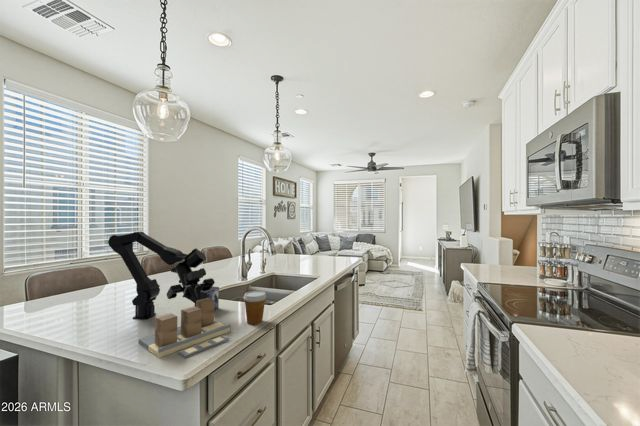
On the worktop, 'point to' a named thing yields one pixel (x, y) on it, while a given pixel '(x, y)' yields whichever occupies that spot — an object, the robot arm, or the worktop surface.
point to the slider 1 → (165, 329)
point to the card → (203, 346)
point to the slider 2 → (206, 310)
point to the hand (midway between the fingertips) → (199, 304)
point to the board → (184, 339)
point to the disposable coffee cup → (254, 306)
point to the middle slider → (191, 321)
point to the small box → (211, 295)
